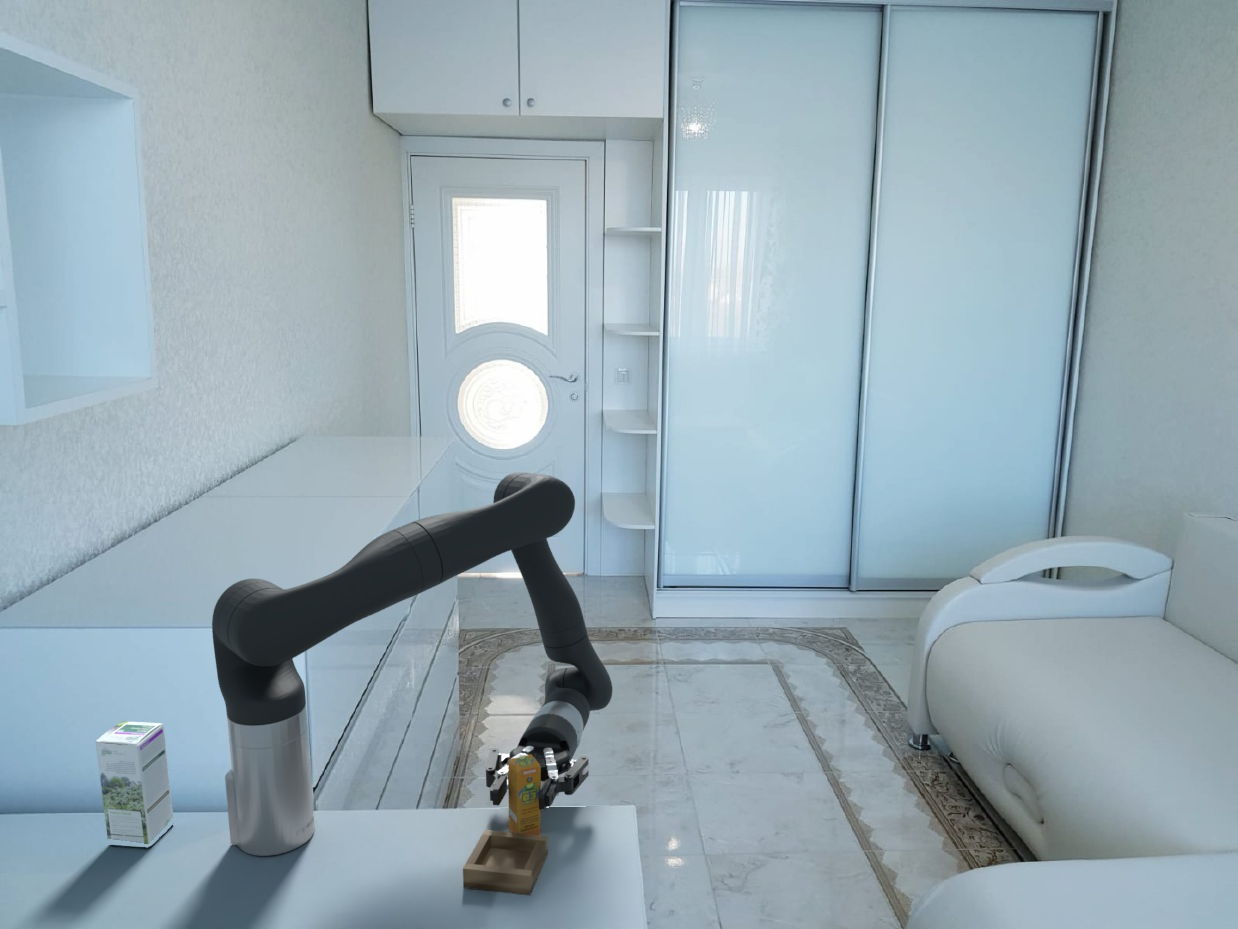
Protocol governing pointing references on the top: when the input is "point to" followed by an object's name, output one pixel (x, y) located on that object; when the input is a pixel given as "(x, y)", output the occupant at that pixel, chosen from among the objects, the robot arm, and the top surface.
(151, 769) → the syrup box
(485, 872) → the tray
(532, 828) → the supplement box
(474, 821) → the top surface
